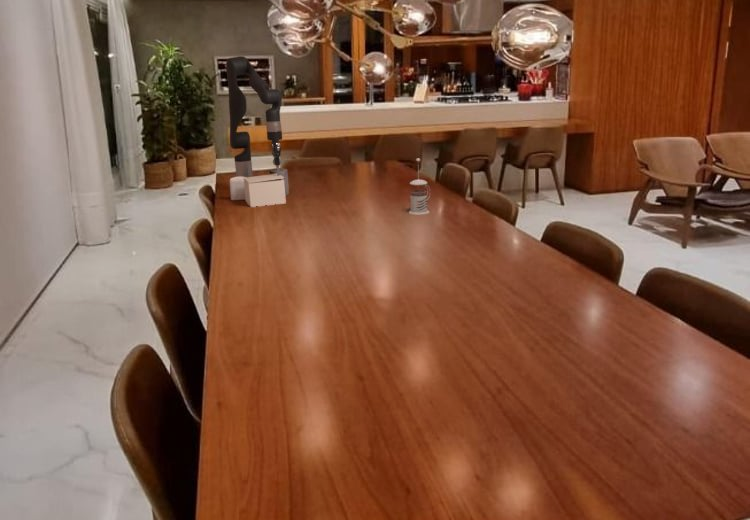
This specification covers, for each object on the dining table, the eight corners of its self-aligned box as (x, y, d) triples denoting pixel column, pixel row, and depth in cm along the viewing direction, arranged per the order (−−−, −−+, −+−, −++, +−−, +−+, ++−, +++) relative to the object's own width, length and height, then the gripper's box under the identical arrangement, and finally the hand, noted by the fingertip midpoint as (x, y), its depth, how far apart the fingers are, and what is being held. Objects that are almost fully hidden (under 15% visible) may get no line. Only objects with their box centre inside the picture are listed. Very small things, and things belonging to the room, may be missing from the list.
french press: (404, 212, 296) (402, 158, 288) (422, 208, 303) (421, 155, 296) (418, 215, 289) (417, 160, 281) (436, 211, 296) (436, 157, 288)
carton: (245, 202, 332) (243, 179, 329) (279, 198, 339) (277, 176, 335) (250, 207, 320) (248, 183, 316) (285, 203, 326) (284, 180, 323)
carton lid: (243, 179, 329) (240, 160, 326) (279, 174, 335) (277, 155, 332) (248, 183, 316) (245, 164, 313) (285, 177, 323) (283, 159, 320)
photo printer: (250, 198, 343) (248, 175, 339) (250, 199, 339) (248, 176, 335) (231, 199, 342) (229, 176, 338) (230, 201, 338) (228, 177, 334)
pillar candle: (268, 194, 350) (265, 167, 345) (282, 192, 356) (280, 165, 352) (277, 197, 343) (275, 169, 338) (292, 194, 349) (290, 167, 345)
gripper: (263, 129, 326) (267, 163, 331) (269, 132, 314) (272, 167, 319) (278, 128, 328) (281, 162, 334) (284, 130, 316) (287, 165, 321)
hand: (277, 164), depth 326 cm, fingers closed
